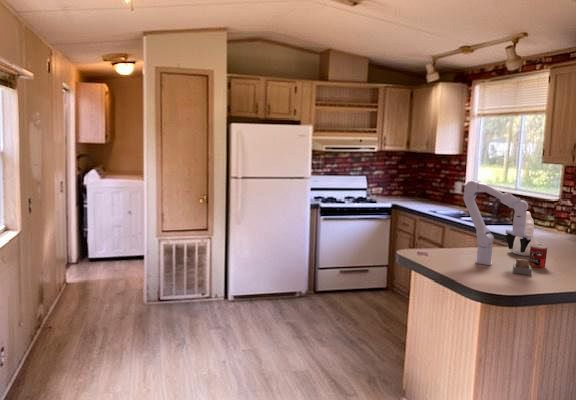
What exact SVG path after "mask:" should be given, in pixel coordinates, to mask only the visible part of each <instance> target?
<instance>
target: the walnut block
mask: <svg viewBox="0 0 576 400" xmlns="http://www.w3.org/2000/svg"><path fill="white" fill-rule="evenodd" d="M515 261H516V262H515V264H516V267H520V268H528V265H529V260H527V259H524V258H516V260H515Z"/></svg>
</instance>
